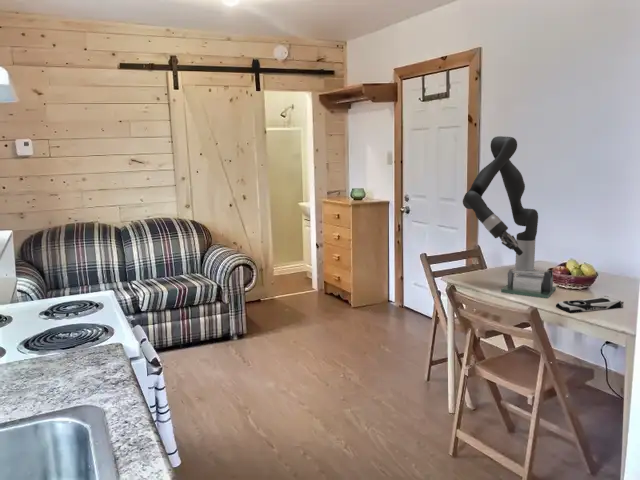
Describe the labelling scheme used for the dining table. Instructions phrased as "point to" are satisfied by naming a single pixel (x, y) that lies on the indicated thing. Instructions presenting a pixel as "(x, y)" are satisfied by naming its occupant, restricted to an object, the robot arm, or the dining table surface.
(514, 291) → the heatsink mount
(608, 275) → the dining table surface
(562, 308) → the graphics card
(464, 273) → the dining table surface
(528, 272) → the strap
